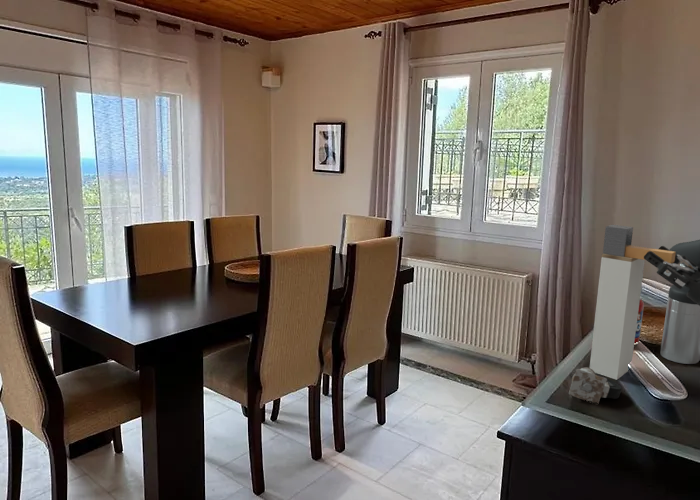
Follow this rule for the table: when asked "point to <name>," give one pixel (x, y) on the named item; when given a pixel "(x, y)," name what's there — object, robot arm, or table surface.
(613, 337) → the plinth
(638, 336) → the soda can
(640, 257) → the grey hammer
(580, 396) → the grey speckled two-tone part
